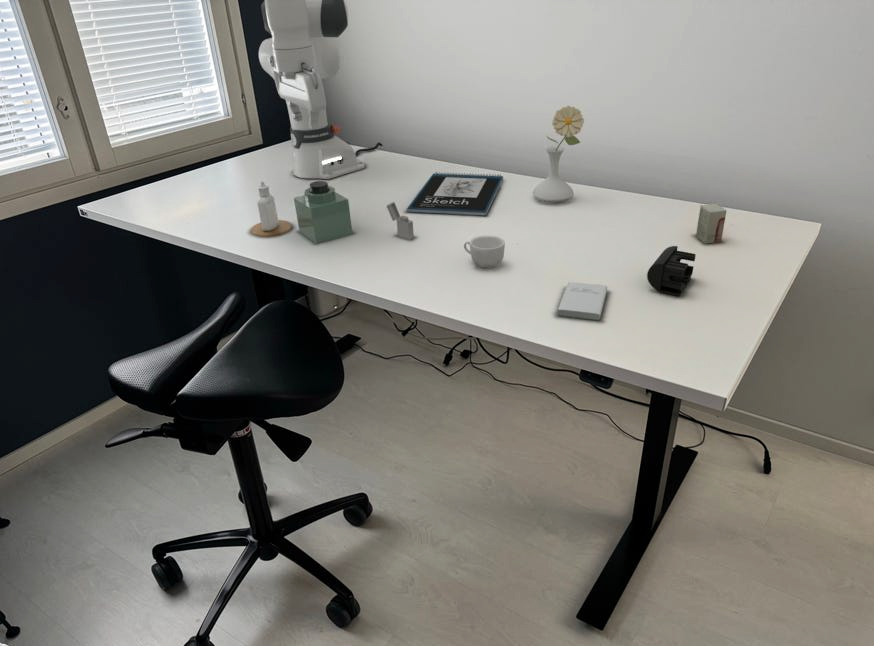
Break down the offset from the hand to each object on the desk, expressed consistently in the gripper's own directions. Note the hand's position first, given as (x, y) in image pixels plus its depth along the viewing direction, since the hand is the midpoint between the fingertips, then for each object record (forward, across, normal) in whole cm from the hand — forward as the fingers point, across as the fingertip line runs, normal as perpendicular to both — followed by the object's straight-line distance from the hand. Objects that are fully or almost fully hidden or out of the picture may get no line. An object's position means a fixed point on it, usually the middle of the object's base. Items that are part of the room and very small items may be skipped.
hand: (306, 124), depth 157 cm
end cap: (+28, -72, -46) cm, 90 cm away
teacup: (+27, -40, -21) cm, 53 cm away
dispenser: (+27, -1, 0) cm, 27 cm away
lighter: (+27, -14, -14) cm, 34 cm away
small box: (+28, -62, -72) cm, 99 cm away
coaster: (+26, +10, +10) cm, 30 cm away
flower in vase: (+28, -18, -62) cm, 70 cm away
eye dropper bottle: (+26, +10, +10) cm, 30 cm away
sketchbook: (+28, +1, -42) cm, 50 cm away
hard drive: (+27, -68, -26) cm, 78 cm away
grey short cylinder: (+16, -1, 0) cm, 16 cm away
